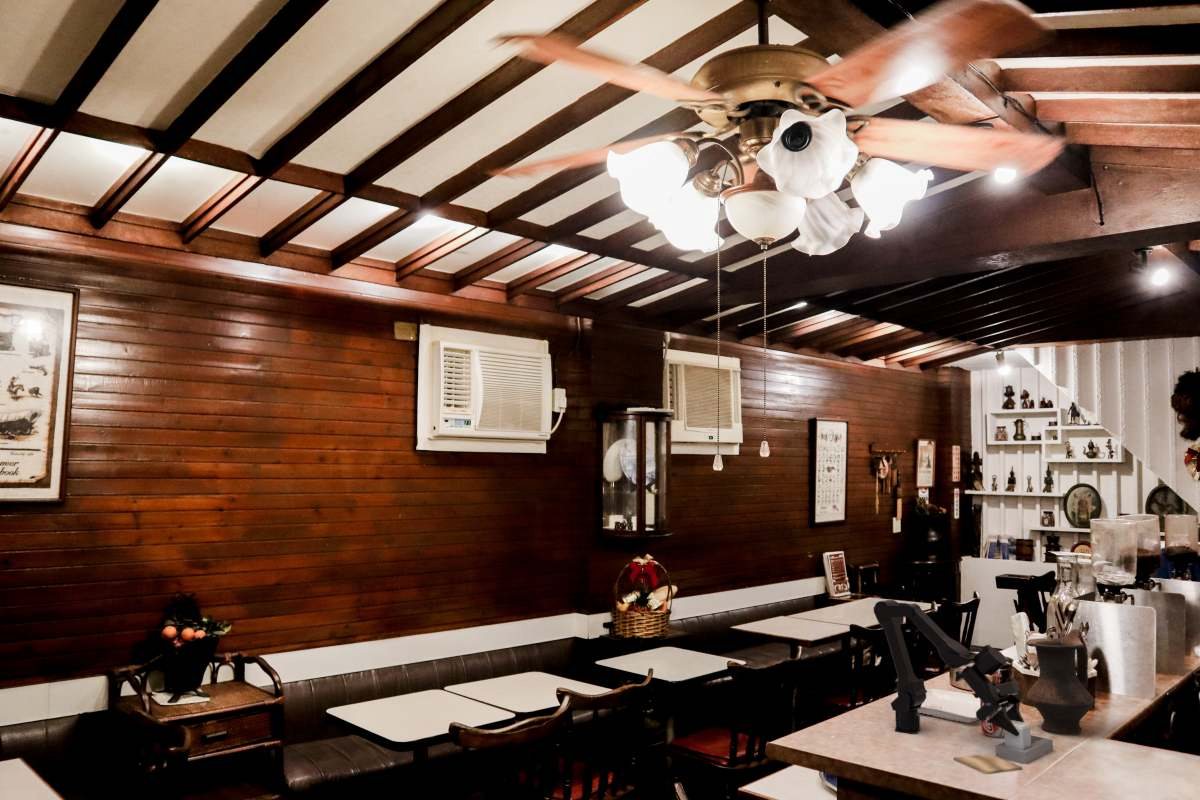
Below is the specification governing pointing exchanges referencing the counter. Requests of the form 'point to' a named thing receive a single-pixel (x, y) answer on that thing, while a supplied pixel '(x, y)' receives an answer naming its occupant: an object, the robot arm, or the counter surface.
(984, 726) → the soda can
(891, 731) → the counter surface
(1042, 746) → the power strip
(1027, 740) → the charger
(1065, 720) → the jug
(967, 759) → the cork pad
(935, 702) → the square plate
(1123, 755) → the counter surface
